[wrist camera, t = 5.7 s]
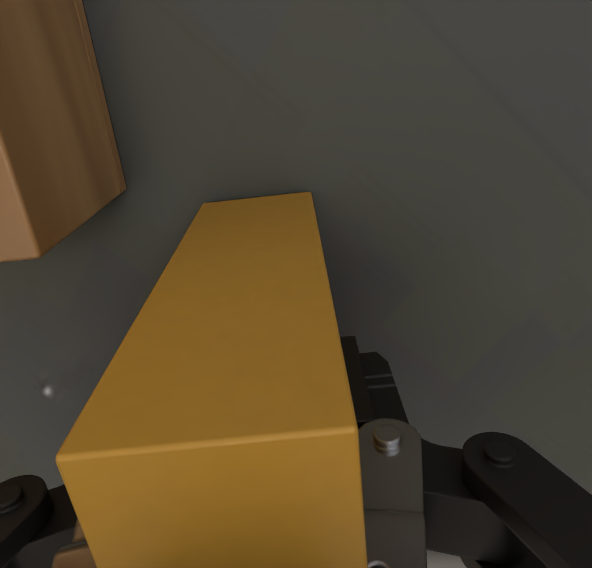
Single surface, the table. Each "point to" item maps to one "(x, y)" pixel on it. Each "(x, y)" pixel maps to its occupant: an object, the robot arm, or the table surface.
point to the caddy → (51, 127)
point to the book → (226, 409)
